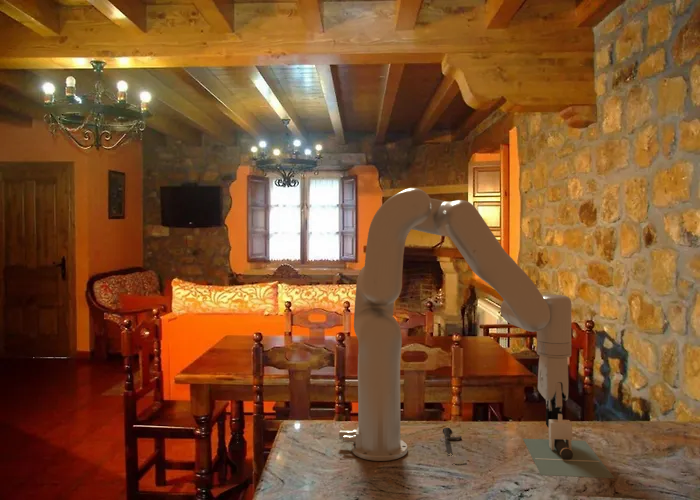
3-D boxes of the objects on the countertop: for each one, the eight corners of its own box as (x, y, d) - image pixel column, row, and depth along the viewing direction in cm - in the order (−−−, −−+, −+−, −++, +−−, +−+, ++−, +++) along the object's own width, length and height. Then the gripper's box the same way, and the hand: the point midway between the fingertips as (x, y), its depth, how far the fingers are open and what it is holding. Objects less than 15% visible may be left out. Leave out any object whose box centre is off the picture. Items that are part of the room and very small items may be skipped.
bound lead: (560, 460, 119) (560, 448, 119) (550, 442, 129) (550, 432, 129) (573, 460, 118) (573, 449, 118) (561, 443, 128) (561, 432, 128)
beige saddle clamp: (551, 449, 124) (551, 415, 123) (548, 445, 126) (548, 412, 126) (571, 450, 123) (571, 416, 123) (568, 446, 125) (569, 412, 125)
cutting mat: (540, 478, 111) (540, 474, 111) (522, 441, 131) (522, 438, 131) (614, 482, 110) (614, 477, 110) (585, 444, 130) (585, 440, 130)
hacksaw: (442, 432, 140) (442, 426, 140) (484, 433, 139) (484, 427, 139) (449, 472, 116) (449, 465, 116) (500, 474, 115) (500, 467, 115)
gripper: (530, 342, 138) (530, 416, 138) (544, 355, 123) (544, 437, 123) (562, 342, 137) (562, 417, 137) (580, 355, 122) (579, 439, 122)
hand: (553, 426), depth 130 cm, fingers closed
